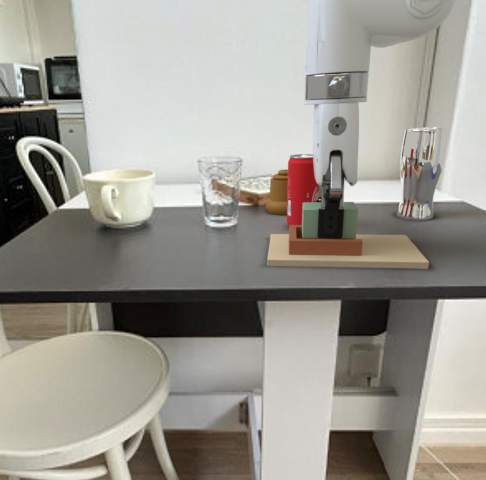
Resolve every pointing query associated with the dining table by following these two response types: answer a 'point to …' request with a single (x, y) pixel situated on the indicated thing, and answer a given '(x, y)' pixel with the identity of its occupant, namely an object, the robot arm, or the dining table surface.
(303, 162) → the beverage can
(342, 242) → the base pad
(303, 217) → the green rectangular block
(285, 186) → the brown bell
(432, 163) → the beer glass
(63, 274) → the dining table surface
